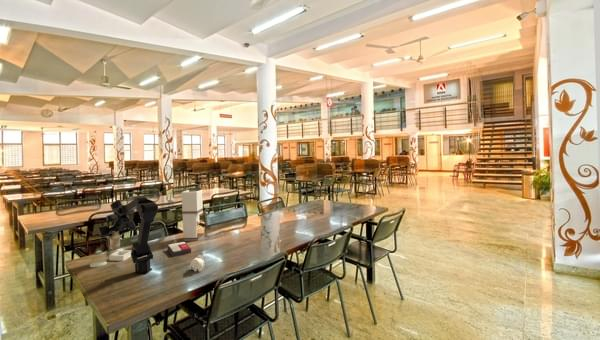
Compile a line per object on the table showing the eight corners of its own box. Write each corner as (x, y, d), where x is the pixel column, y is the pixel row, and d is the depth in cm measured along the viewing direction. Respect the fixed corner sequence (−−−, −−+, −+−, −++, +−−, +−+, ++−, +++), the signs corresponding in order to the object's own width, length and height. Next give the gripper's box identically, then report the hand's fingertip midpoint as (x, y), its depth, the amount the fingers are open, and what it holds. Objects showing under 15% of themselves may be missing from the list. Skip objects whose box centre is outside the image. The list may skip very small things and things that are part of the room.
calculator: (172, 251, 180) (167, 243, 192) (172, 258, 180) (167, 250, 192) (191, 247, 186) (184, 240, 198) (191, 254, 186) (185, 246, 199)
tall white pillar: (198, 240, 212) (196, 191, 210) (183, 240, 212) (181, 192, 210) (203, 235, 223) (202, 189, 221) (189, 236, 223) (187, 190, 221)
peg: (121, 246, 179) (120, 225, 179) (117, 249, 174) (115, 227, 174) (113, 246, 179) (112, 225, 178) (108, 249, 174) (107, 227, 173)
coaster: (110, 262, 173) (110, 261, 173) (100, 267, 165) (100, 266, 165) (97, 262, 173) (96, 261, 173) (86, 267, 165) (86, 266, 165)
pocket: (133, 255, 184) (132, 250, 183) (123, 260, 175) (123, 255, 175) (119, 255, 184) (118, 250, 184) (109, 260, 175) (108, 255, 175)
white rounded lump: (191, 267, 163) (190, 254, 163) (208, 267, 163) (207, 254, 162) (185, 272, 156) (184, 259, 155) (203, 272, 155) (202, 259, 155)
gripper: (132, 207, 180) (125, 222, 188) (97, 212, 165) (91, 229, 173) (139, 221, 176) (131, 237, 184) (104, 228, 161) (97, 245, 169)
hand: (113, 236), depth 177 cm, fingers closed on peg, 5 cm apart
